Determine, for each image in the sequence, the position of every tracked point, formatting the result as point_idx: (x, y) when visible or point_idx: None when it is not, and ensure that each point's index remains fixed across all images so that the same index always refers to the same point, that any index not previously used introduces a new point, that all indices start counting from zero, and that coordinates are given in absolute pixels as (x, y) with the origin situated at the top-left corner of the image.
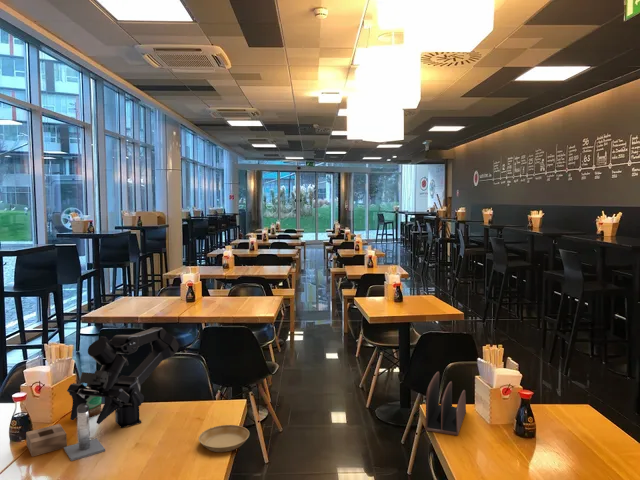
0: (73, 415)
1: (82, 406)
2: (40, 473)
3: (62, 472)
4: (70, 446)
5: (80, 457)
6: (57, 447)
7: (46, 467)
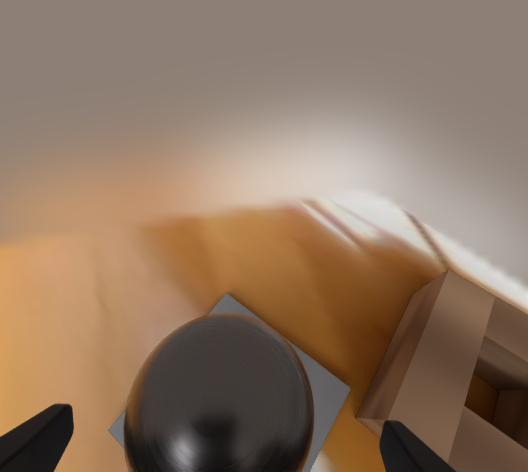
0: (404, 459)
1: (184, 339)
2: (273, 209)
3: (203, 225)
4: (325, 406)
5: None
6: (378, 376)
7: (285, 241)
